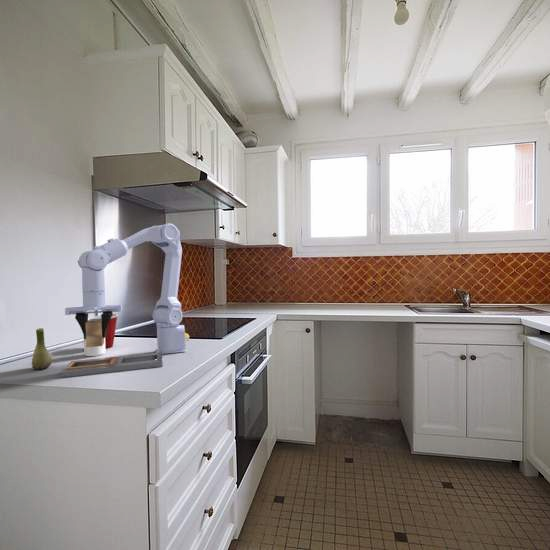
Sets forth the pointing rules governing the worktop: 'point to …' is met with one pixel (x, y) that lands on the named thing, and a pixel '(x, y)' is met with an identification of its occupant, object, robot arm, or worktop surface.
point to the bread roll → (186, 336)
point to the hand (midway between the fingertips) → (95, 337)
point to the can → (94, 350)
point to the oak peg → (94, 333)
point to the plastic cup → (109, 330)
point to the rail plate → (112, 364)
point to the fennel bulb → (41, 352)
